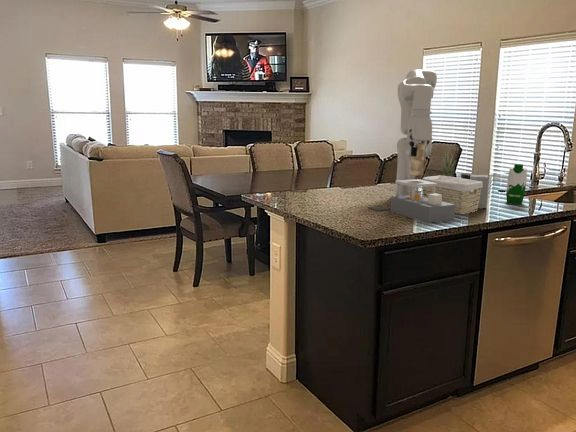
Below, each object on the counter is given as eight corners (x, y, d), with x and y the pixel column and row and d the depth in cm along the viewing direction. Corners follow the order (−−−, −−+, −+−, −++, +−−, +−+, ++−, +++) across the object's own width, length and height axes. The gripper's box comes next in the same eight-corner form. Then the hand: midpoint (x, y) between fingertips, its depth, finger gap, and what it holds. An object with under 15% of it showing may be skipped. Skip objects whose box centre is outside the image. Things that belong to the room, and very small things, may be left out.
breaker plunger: (406, 210, 231) (407, 193, 229) (414, 210, 233) (415, 193, 231) (413, 213, 226) (414, 195, 225) (421, 212, 228) (422, 194, 227)
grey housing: (390, 211, 234) (392, 180, 231) (414, 209, 240) (416, 178, 236) (428, 223, 211) (430, 188, 208) (453, 220, 217) (457, 187, 214)
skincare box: (485, 206, 249) (488, 174, 245) (486, 209, 242) (489, 176, 239) (467, 205, 251) (470, 173, 248) (467, 208, 245) (470, 175, 241)
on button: (427, 209, 218) (428, 193, 217) (434, 209, 220) (435, 193, 218) (433, 211, 215) (434, 195, 213) (440, 211, 216) (442, 194, 215)
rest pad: (381, 207, 243) (381, 206, 243) (389, 210, 237) (389, 208, 236) (368, 208, 240) (368, 207, 240) (377, 211, 234) (377, 209, 234)
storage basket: (481, 212, 237) (484, 180, 233) (462, 216, 226) (465, 183, 223) (437, 204, 255) (440, 174, 251) (418, 207, 244) (420, 177, 241)
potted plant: (436, 187, 306) (439, 146, 301) (452, 188, 305) (456, 147, 299) (438, 190, 296) (442, 147, 291) (455, 190, 295) (459, 148, 290)
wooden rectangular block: (417, 173, 229) (419, 142, 226) (423, 175, 225) (425, 143, 222) (410, 174, 227) (412, 142, 224) (415, 175, 224) (418, 143, 221)
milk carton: (504, 203, 258) (509, 164, 254) (505, 200, 266) (509, 162, 262) (523, 205, 255) (528, 165, 250) (523, 202, 263) (528, 163, 258)
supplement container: (478, 198, 273) (480, 175, 270) (457, 196, 276) (459, 174, 274) (478, 195, 283) (480, 173, 280) (458, 193, 286) (460, 172, 283)
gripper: (430, 113, 227) (427, 154, 231) (400, 113, 220) (397, 155, 224) (441, 114, 220) (438, 156, 225) (411, 114, 213) (408, 157, 218)
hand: (417, 155), depth 224 cm, fingers closed on wooden rectangular block, 4 cm apart
